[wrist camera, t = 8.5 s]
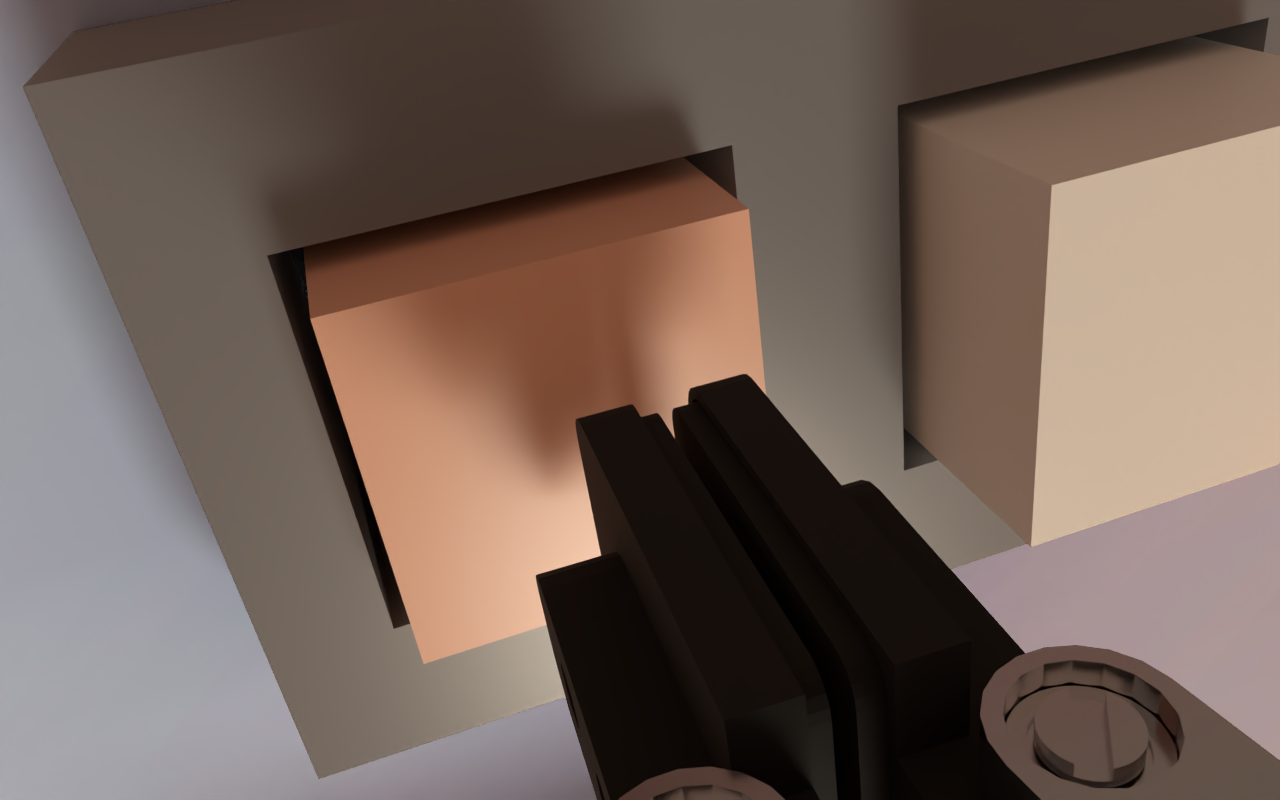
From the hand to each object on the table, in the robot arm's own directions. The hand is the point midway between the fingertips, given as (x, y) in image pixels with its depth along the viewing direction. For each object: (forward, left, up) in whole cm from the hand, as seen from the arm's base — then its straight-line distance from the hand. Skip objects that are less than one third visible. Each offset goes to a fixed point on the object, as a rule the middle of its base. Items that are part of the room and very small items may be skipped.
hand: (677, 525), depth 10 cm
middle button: (-6, 0, -4) cm, 8 cm away
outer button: (+1, 0, -6) cm, 6 cm away
